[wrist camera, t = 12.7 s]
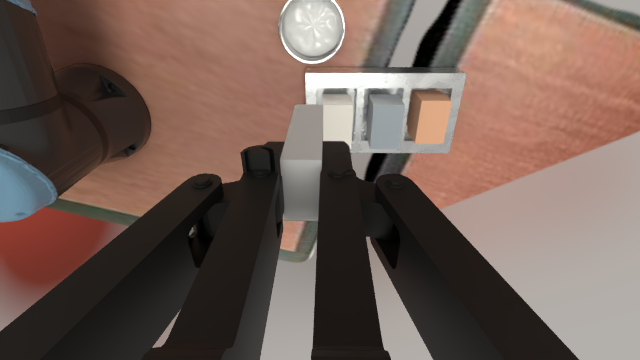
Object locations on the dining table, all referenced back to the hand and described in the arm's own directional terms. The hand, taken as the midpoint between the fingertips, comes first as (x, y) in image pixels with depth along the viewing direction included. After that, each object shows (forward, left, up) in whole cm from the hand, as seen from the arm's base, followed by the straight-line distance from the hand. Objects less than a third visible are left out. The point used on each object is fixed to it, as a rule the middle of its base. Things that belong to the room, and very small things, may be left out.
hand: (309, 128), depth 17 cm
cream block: (+2, -9, -29) cm, 30 cm away
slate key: (+9, -9, -28) cm, 31 cm away
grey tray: (+9, -9, -32) cm, 35 cm away
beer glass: (0, +3, -33) cm, 33 cm away
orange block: (+16, -9, -30) cm, 35 cm away
